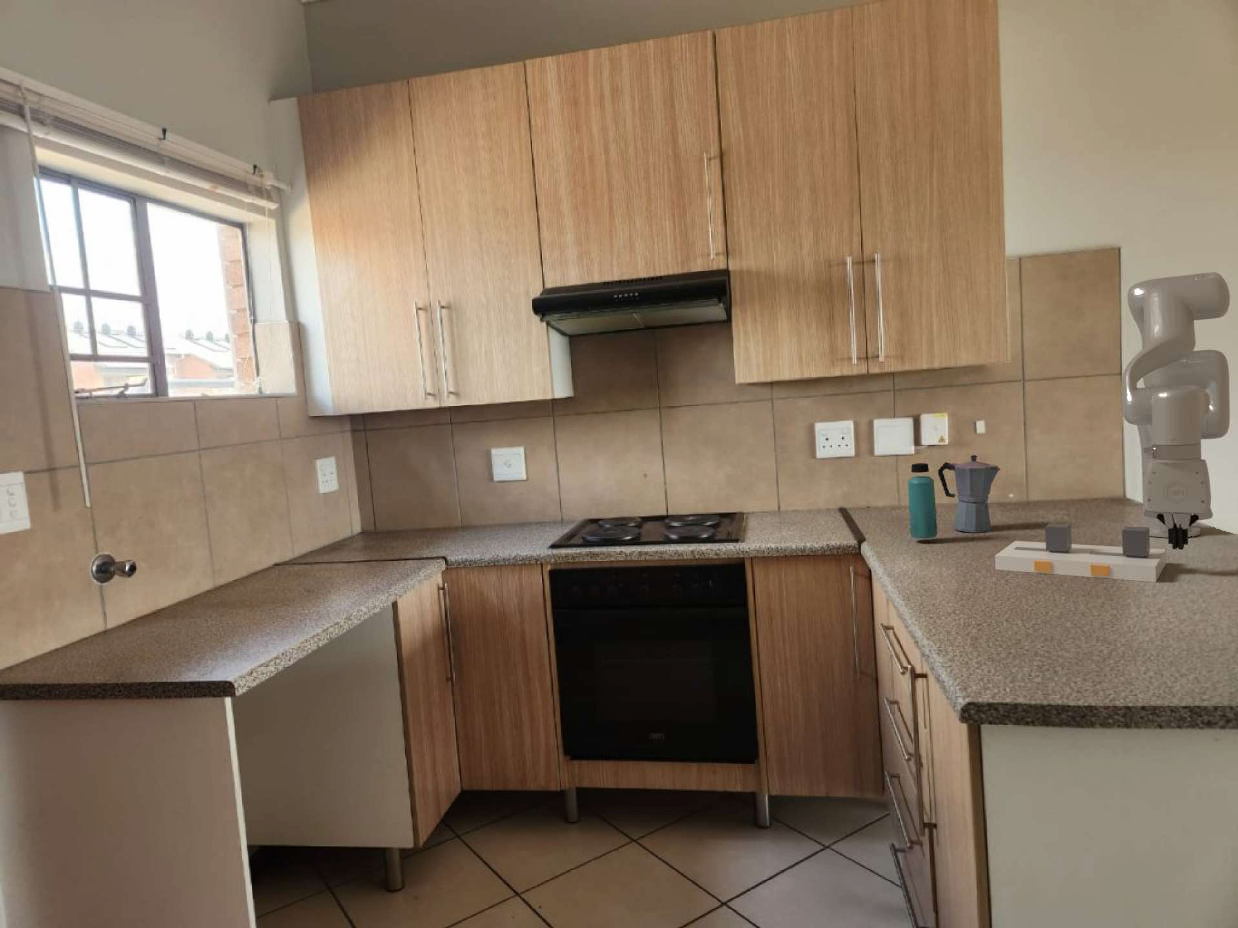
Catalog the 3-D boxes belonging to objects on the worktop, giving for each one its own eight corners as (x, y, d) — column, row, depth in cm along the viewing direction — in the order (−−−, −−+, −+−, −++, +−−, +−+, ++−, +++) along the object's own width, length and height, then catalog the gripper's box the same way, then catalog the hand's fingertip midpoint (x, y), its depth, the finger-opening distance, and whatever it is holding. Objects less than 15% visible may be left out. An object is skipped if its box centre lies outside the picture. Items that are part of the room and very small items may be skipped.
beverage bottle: (940, 543, 192) (936, 463, 191) (912, 544, 194) (908, 465, 192) (935, 538, 199) (931, 461, 197) (907, 539, 200) (904, 462, 198)
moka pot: (1001, 534, 198) (998, 456, 196) (936, 532, 206) (933, 457, 204) (1005, 527, 206) (1002, 452, 204) (943, 526, 214) (939, 454, 212)
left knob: (1050, 546, 166) (1049, 523, 165) (1071, 547, 163) (1071, 524, 163) (1045, 550, 163) (1045, 526, 162) (1067, 551, 160) (1066, 527, 160)
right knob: (1125, 550, 157) (1125, 526, 156) (1149, 552, 154) (1149, 527, 154) (1122, 554, 154) (1122, 530, 153) (1146, 556, 151) (1146, 531, 151)
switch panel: (1015, 553, 176) (1015, 540, 176) (1166, 563, 158) (1165, 548, 157) (995, 569, 164) (994, 554, 164) (1155, 582, 145) (1155, 565, 145)
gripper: (1127, 455, 150) (1129, 549, 151) (1225, 454, 140) (1226, 554, 142) (1132, 451, 156) (1134, 542, 157) (1227, 450, 146) (1228, 546, 147)
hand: (1178, 547), depth 149 cm, fingers closed
